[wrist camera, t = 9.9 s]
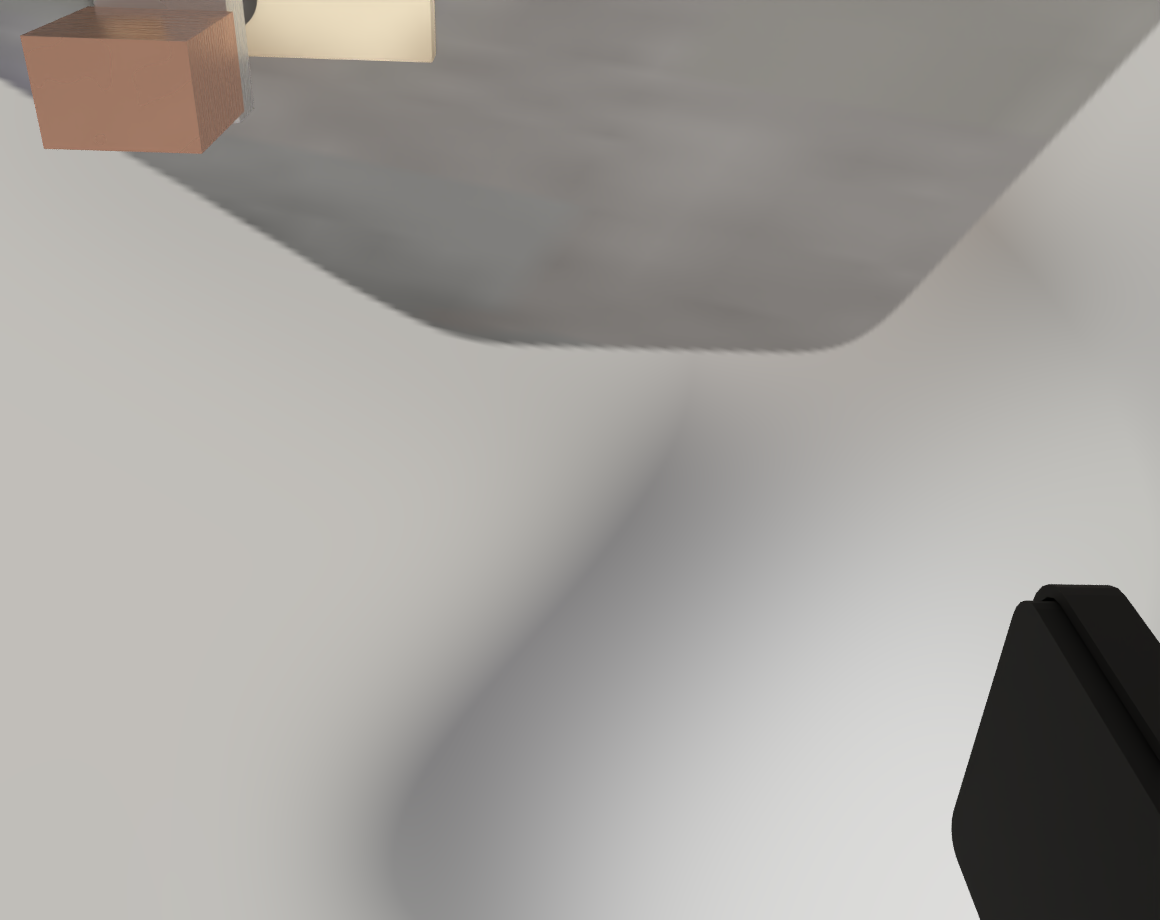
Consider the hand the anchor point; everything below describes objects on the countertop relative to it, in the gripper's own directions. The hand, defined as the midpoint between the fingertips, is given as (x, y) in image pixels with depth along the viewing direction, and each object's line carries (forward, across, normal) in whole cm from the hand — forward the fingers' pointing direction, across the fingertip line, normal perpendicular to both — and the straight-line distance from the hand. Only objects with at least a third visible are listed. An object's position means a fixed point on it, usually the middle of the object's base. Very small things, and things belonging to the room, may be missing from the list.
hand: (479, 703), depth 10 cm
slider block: (+32, +9, -1) cm, 34 cm away
